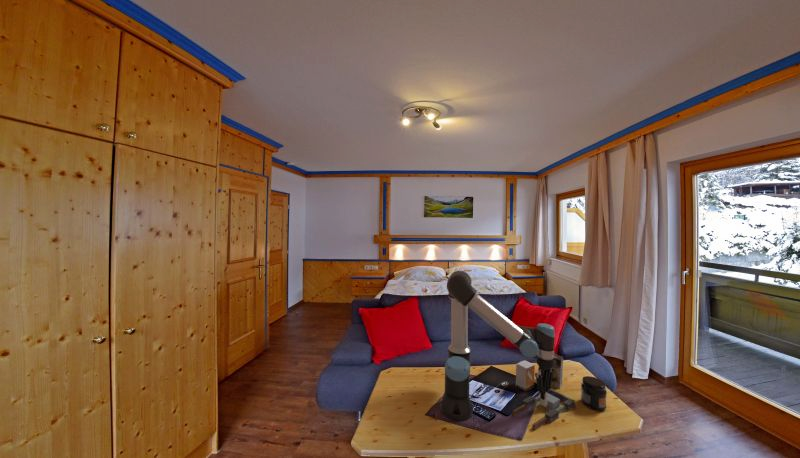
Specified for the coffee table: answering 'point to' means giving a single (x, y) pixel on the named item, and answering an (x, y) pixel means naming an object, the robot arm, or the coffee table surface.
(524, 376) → the small box
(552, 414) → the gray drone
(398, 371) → the coffee table surface
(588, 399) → the supplement container
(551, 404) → the slate block
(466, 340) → the robot arm
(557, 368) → the coffee box
